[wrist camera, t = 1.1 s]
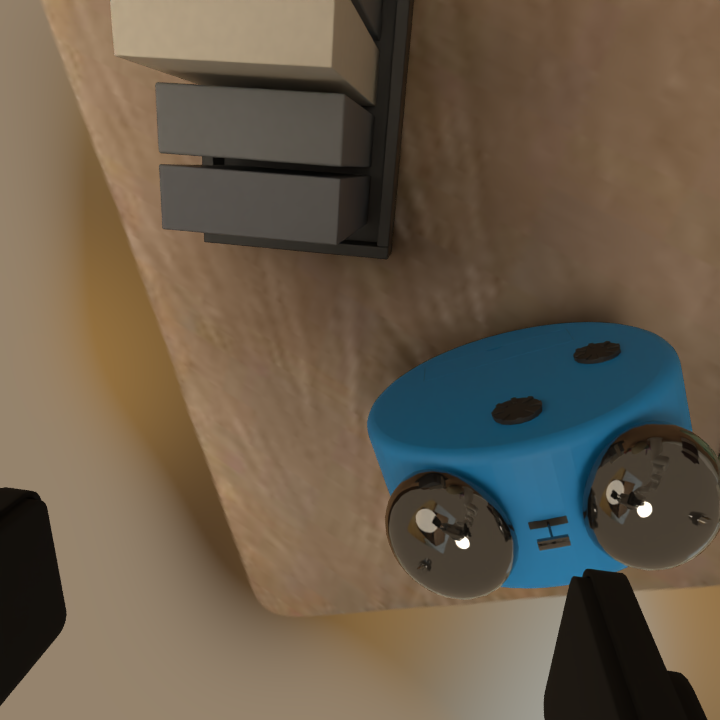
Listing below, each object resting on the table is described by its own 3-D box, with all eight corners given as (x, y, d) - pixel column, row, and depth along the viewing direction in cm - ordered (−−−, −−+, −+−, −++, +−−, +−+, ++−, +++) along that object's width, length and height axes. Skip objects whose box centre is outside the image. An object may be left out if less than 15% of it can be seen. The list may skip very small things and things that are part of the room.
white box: (237, 43, 27) (106, -35, 16) (379, 51, 26) (336, -27, 15) (238, 97, 27) (113, 55, 17) (375, 106, 27) (331, 67, 16)
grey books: (237, -24, 26) (143, -111, 18) (384, -19, 25) (356, -107, 17) (238, 212, 29) (161, 229, 21) (367, 223, 28) (336, 245, 21)
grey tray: (214, -43, 26) (195, -60, 24) (417, -36, 25) (415, -54, 23) (219, 237, 31) (204, 242, 29) (391, 253, 29) (387, 259, 27)
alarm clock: (411, 451, 33) (386, 657, 19) (380, 358, 31) (327, 511, 17) (639, 400, 30) (807, 602, 16) (618, 294, 28) (785, 417, 14)
